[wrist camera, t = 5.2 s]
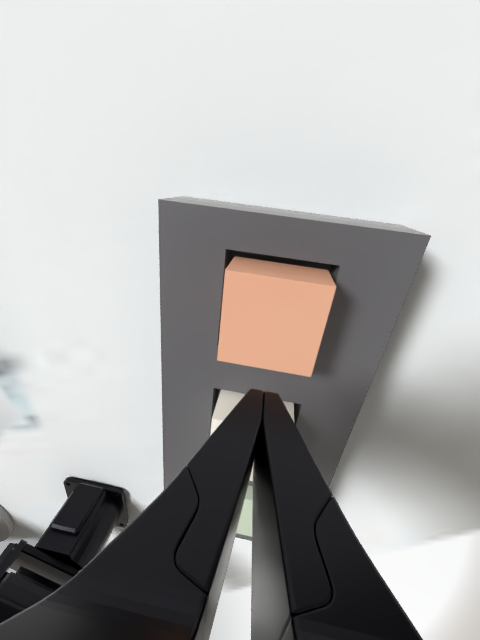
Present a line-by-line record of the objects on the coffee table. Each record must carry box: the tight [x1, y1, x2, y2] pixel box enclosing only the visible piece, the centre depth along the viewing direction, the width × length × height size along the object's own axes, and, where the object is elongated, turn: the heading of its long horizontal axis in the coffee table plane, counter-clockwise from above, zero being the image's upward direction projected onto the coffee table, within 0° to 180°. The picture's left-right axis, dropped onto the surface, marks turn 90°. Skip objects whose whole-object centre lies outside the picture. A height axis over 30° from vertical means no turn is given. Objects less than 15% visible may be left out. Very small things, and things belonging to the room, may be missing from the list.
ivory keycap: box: [210, 389, 294, 481], centre depth 17 cm, size 5×5×2 cm
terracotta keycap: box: [217, 256, 336, 377], centre depth 14 cm, size 5×5×2 cm
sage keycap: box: [236, 485, 253, 537], centre depth 22 cm, size 5×5×2 cm
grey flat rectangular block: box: [158, 197, 431, 541], centre depth 20 cm, size 26×12×4 cm, turn 174°
